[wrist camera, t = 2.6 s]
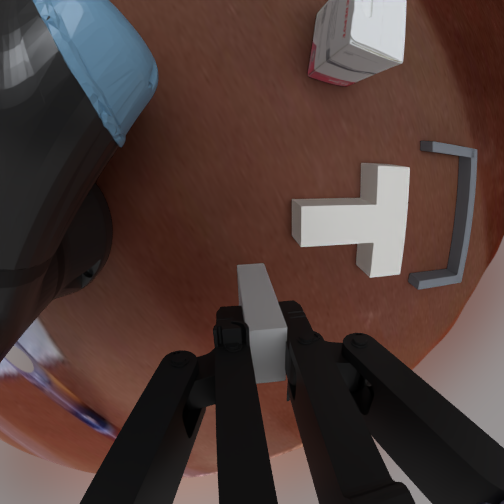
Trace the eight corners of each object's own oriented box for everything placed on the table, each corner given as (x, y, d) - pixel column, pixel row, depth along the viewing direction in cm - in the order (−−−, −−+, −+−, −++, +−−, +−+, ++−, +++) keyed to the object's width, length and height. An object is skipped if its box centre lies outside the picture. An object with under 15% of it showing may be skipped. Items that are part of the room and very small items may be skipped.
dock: (408, 281, 37) (417, 289, 35) (420, 140, 31) (432, 141, 29) (450, 275, 38) (460, 282, 35) (465, 148, 32) (477, 149, 29)
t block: (291, 269, 35) (299, 284, 31) (291, 161, 31) (301, 163, 27) (383, 261, 36) (399, 274, 32) (390, 164, 32) (409, 167, 28)
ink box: (346, 89, 28) (406, 68, 17) (304, 76, 28) (348, 44, 17) (356, 25, 26) (409, -13, 15) (315, 12, 25) (357, -37, 14)
